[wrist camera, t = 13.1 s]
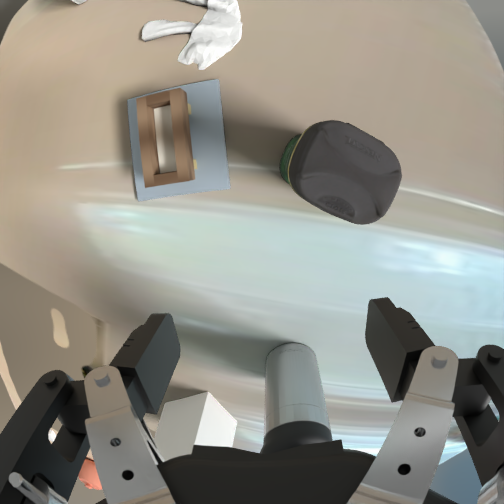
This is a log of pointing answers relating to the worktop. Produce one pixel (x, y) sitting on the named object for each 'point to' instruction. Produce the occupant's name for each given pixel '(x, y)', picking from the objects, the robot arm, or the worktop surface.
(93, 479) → the teapot
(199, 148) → the panel
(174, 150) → the frame
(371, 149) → the coffee jar
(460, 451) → the worktop surface
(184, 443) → the milk
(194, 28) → the cloth
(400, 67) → the worktop surface
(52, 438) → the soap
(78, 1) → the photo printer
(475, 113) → the worktop surface
